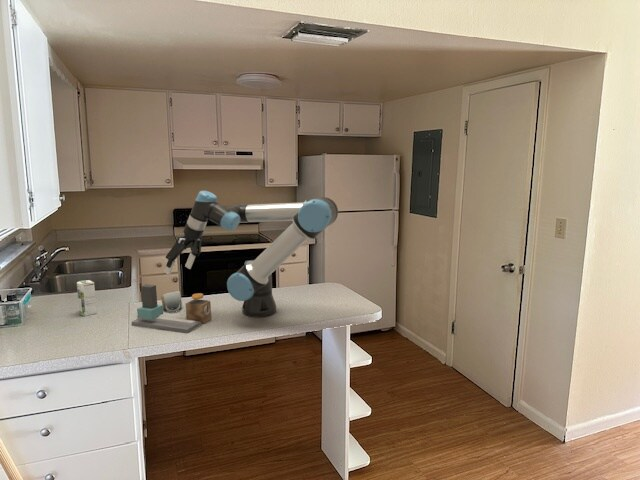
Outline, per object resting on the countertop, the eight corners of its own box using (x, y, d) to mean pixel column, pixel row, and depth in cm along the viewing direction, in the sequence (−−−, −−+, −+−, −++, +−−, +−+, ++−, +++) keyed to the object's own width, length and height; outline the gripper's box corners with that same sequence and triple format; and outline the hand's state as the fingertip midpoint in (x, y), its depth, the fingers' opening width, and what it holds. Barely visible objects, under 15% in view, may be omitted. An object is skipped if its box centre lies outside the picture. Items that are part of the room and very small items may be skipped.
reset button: (205, 296, 185) (205, 293, 185) (199, 299, 181) (199, 296, 181) (196, 295, 187) (196, 292, 187) (190, 298, 183) (189, 295, 182)
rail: (200, 325, 180) (200, 318, 180) (187, 333, 172) (186, 325, 171) (147, 318, 189) (146, 311, 189) (131, 325, 181) (131, 318, 180)
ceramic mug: (161, 307, 203) (160, 291, 202) (180, 304, 207) (179, 288, 205) (164, 314, 194) (163, 297, 192) (183, 311, 197) (182, 295, 196)
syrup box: (78, 313, 195) (75, 281, 193) (93, 310, 200) (89, 279, 197) (83, 316, 192) (79, 284, 189) (97, 313, 196) (94, 281, 193)
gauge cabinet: (212, 319, 187) (211, 300, 186) (204, 324, 181) (203, 304, 180) (195, 317, 190) (194, 298, 188) (186, 321, 184) (185, 302, 183)
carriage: (163, 313, 185) (161, 284, 182) (151, 319, 178) (149, 288, 176) (149, 312, 187) (147, 282, 185) (137, 317, 180) (135, 287, 178)
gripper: (206, 220, 195) (189, 261, 200) (168, 224, 171) (150, 271, 177) (219, 228, 193) (202, 269, 198) (182, 234, 170) (164, 280, 175)
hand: (177, 270), depth 188 cm, fingers open, 13 cm apart
